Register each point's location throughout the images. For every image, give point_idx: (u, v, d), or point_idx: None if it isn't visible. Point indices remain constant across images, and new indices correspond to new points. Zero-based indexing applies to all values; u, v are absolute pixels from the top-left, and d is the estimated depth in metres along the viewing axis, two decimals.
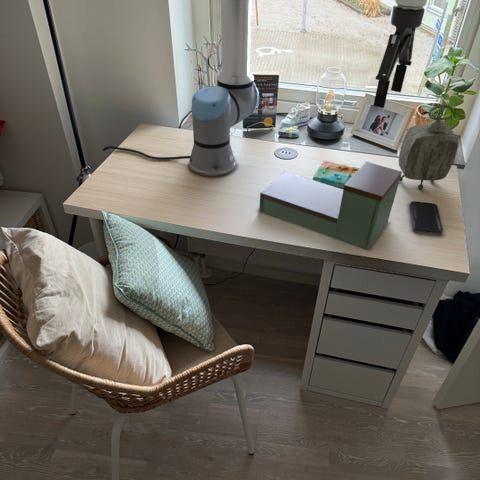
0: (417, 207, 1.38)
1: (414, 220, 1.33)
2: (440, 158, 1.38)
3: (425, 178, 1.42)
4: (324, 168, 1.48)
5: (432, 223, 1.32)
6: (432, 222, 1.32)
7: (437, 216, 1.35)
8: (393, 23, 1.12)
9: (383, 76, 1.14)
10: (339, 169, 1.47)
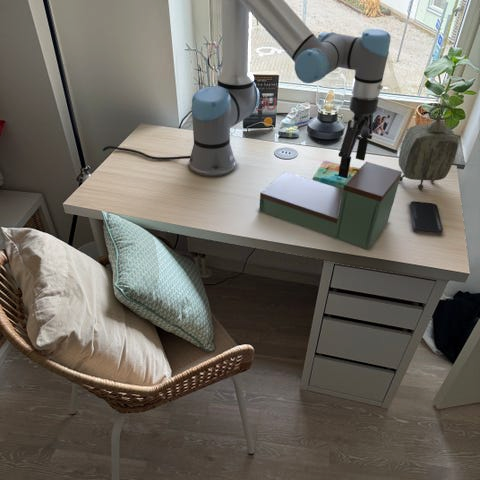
0: (417, 207, 1.38)
1: (414, 220, 1.33)
2: (440, 158, 1.38)
3: (425, 178, 1.42)
4: (324, 168, 1.48)
5: (432, 223, 1.32)
6: (432, 222, 1.32)
7: (437, 216, 1.35)
8: (352, 110, 1.29)
9: (344, 154, 1.31)
10: None
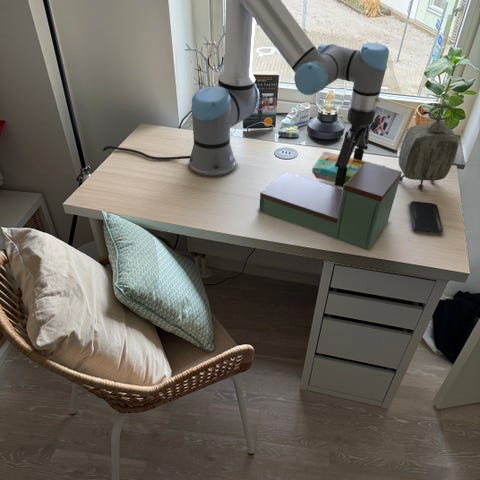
0: (417, 207, 1.38)
1: (414, 220, 1.33)
2: (440, 158, 1.38)
3: (425, 178, 1.42)
4: (324, 159, 1.46)
5: (432, 223, 1.32)
6: (432, 222, 1.32)
7: (437, 216, 1.35)
8: (349, 121, 1.32)
9: (341, 165, 1.34)
10: None
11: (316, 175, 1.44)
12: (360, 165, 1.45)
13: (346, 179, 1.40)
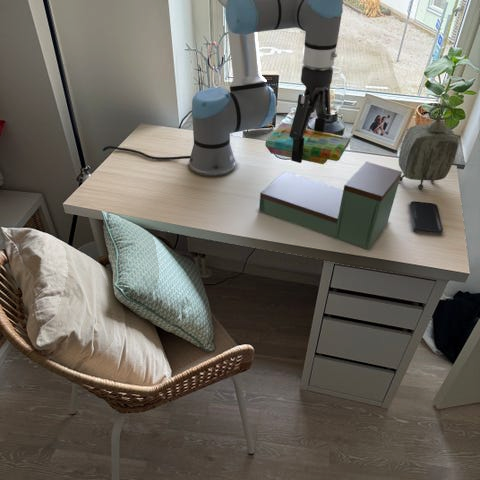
0: (417, 207, 1.38)
1: (414, 220, 1.33)
2: (440, 158, 1.38)
3: (425, 178, 1.42)
4: (280, 131, 1.26)
5: (432, 223, 1.32)
6: (432, 222, 1.32)
7: (437, 216, 1.35)
8: (303, 82, 1.12)
9: (295, 135, 1.14)
10: None
11: (270, 150, 1.24)
12: (321, 137, 1.25)
13: (304, 153, 1.21)
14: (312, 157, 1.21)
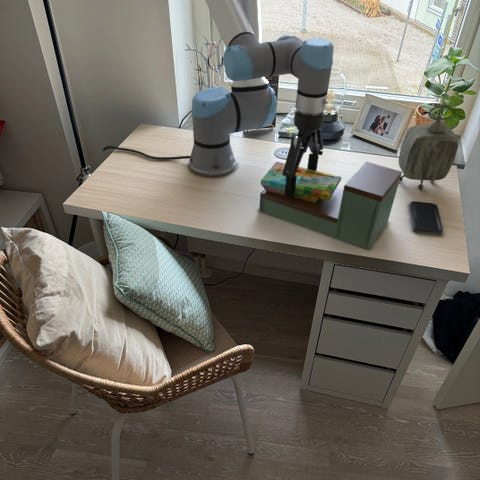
0: (417, 207, 1.38)
1: (414, 220, 1.33)
2: (440, 158, 1.38)
3: (425, 178, 1.42)
4: (275, 170, 1.34)
5: (432, 223, 1.32)
6: (432, 222, 1.32)
7: (437, 216, 1.35)
8: (296, 125, 1.19)
9: (288, 173, 1.21)
10: None
11: (265, 188, 1.32)
12: (313, 176, 1.32)
13: (297, 192, 1.28)
14: (304, 196, 1.28)
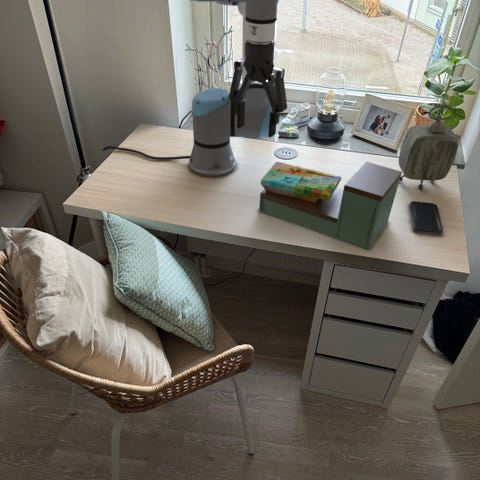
0: (417, 207, 1.38)
1: (414, 220, 1.33)
2: (440, 158, 1.38)
3: (425, 178, 1.42)
4: (275, 170, 1.34)
5: (432, 223, 1.32)
6: (432, 222, 1.32)
7: (437, 216, 1.35)
8: None
9: None
10: (291, 171, 1.33)
11: (265, 188, 1.32)
12: (313, 176, 1.32)
13: (297, 192, 1.28)
14: (304, 196, 1.28)
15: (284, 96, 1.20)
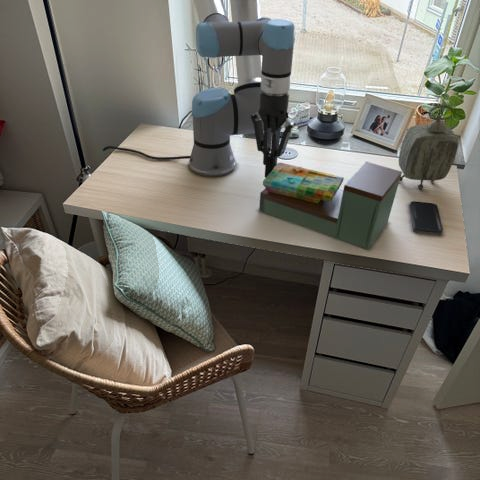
0: (417, 207, 1.38)
1: (414, 220, 1.33)
2: (440, 158, 1.38)
3: (425, 178, 1.42)
4: (277, 171, 1.33)
5: (432, 223, 1.32)
6: (432, 222, 1.32)
7: (437, 216, 1.35)
8: None
9: None
10: (293, 172, 1.33)
11: (268, 188, 1.32)
12: (316, 176, 1.32)
13: (299, 193, 1.28)
14: (307, 197, 1.28)
15: (285, 144, 1.28)
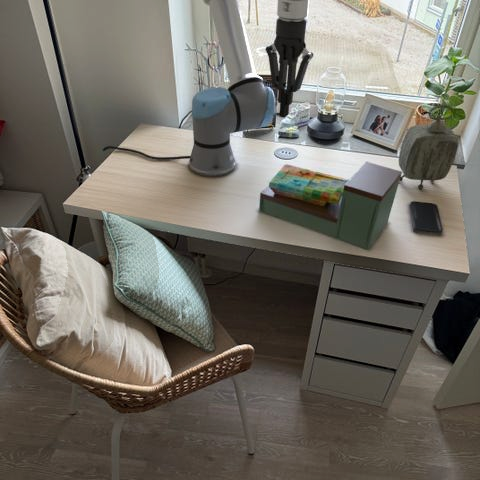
0: (417, 207, 1.38)
1: (414, 220, 1.33)
2: (440, 158, 1.38)
3: (425, 178, 1.42)
4: (283, 172, 1.33)
5: (432, 223, 1.32)
6: (432, 222, 1.32)
7: (437, 216, 1.35)
8: None
9: None
10: (300, 174, 1.32)
11: (274, 190, 1.31)
12: (322, 179, 1.31)
13: (305, 195, 1.27)
14: (313, 199, 1.27)
15: (302, 78, 1.22)
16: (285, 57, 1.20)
